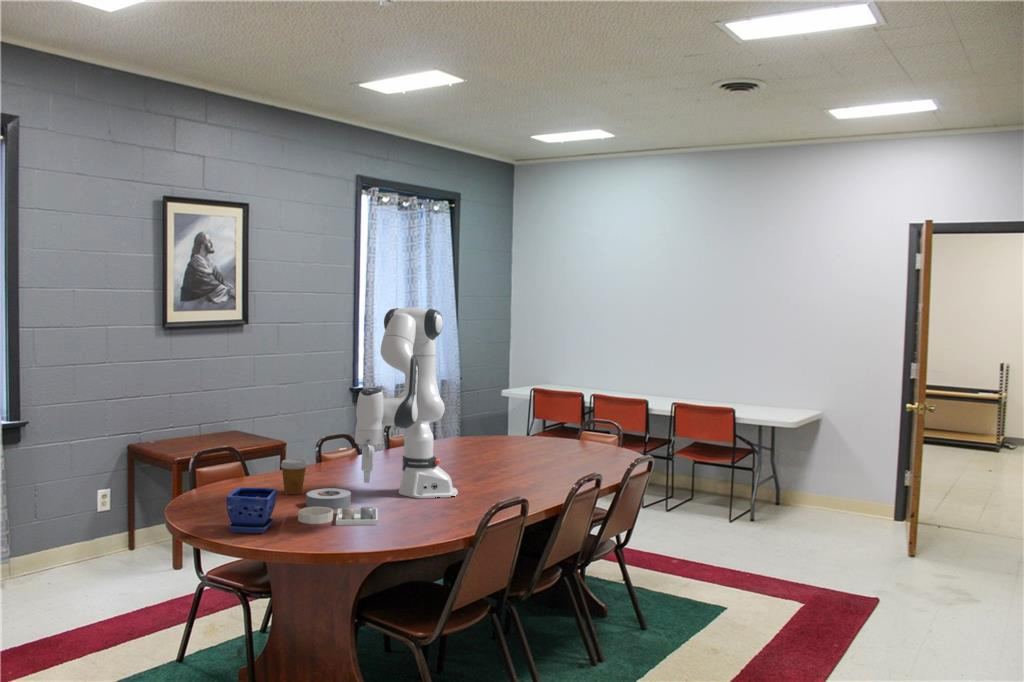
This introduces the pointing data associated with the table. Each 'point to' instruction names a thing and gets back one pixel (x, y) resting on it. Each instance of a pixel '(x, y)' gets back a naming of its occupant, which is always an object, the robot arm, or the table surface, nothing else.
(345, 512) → the pebble
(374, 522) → the tray
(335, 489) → the tape roll
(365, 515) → the pebble
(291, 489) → the disposable coffee cup
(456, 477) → the table surface
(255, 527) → the flower pot
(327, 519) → the bowl
